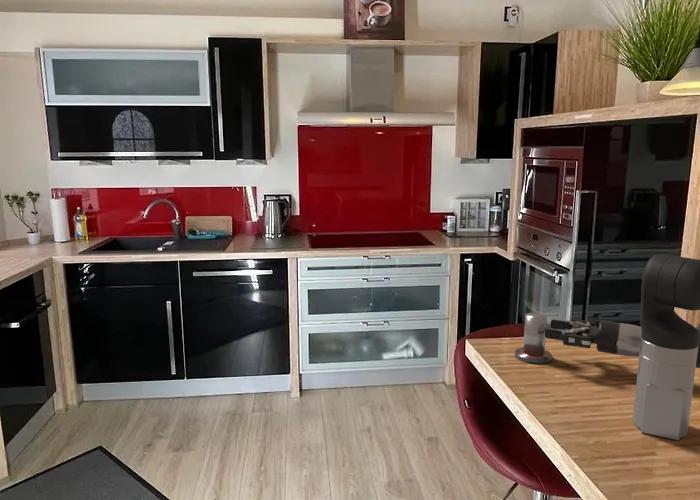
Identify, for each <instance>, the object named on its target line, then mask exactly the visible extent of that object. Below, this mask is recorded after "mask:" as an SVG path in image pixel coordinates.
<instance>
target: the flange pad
mask: <svg viewBox="0 0 700 500" xmlns="http://www.w3.org/2000/svg"><path fill="white" fill-rule="evenodd" d="M514 357H515V358H516V359H517V360H519V361H521V362H524V363H528V364H533V365H543V364H545V365H546V364H549V363H551V362H552V360H553V355H552V353H551V352H550V351H548V350H546V349H545V355H544V356H541V357H533V356H528V355H526V354H524V353H523V347H518V348H516V349H515V352H514Z"/></svg>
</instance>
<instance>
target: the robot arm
mask: <svg viewBox="0 0 700 500" xmlns="http://www.w3.org/2000/svg"><path fill="white" fill-rule="evenodd" d="M640 290H641V291H640V292H641V293H640V294H641V295H640V315H639V323H640V326H639V325H635V324H630V323H623V322H616V321H608V320H600V321H599V323H598V327H597V323H596V322H593V321H588V320H582V319H575V318H571V319H569V320H562V319H561V320H560V319H551V321H550V328H546V330H545V338H546V339H550V340H557V341H560V342H561V343H562V345H565V346H569V347H570V346H571V347H577V348H585V349H591V345H593V344H594V345H596V351H597V352H599V353H604V354H605V353H606V354H610V355H616V356H617V355H618V356H623V357H631V358H632V357H633V358H638V364H637V371H636V372H637V373H636V381H635V392H634V403H633V414H632V422H633V424H634V425H635V427H636V428H639V429H640V433H644V434H648V435H652V436H657V437H661V438H666V439H669V440H670V439H671V440H675V441H680V439H681V438H684V437H685V436H687V435H688V434H689V427H690V418H691V417H690V416H691V408H692V401H693V391H694V386H695V385H694V384H695V383H694V382H695V376H696V369H700V323H698V325H697V326H696V327H695V326H694V325H692V324H690V323H689V322H687V321H686V320H685V319H683V318H682V317H681V316H680V315H678V314H677V312H676V311H675V310H674V308H677V309H681V310H686V311H700V259H696V258H691V257H684V256H676V255H669V254H662V253H661V254H655V255H653V256H651V257H650V259H648V261H647V262H646V264H645V267H644V270H643V273H642V280H641V289H640ZM673 307H674V308H673Z"/></svg>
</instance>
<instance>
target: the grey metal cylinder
mask: <svg viewBox="0 0 700 500" xmlns="http://www.w3.org/2000/svg"><path fill="white" fill-rule="evenodd" d="M547 322H548V316H547V315H546V314H544V313H540V312H527V313H525V316H524V334H523V347H522V348H523V353H524V354H526V355H528V356H533V357H541V356H544V355H545V350H546V341H547V338H545V330H546V329H547Z"/></svg>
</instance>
